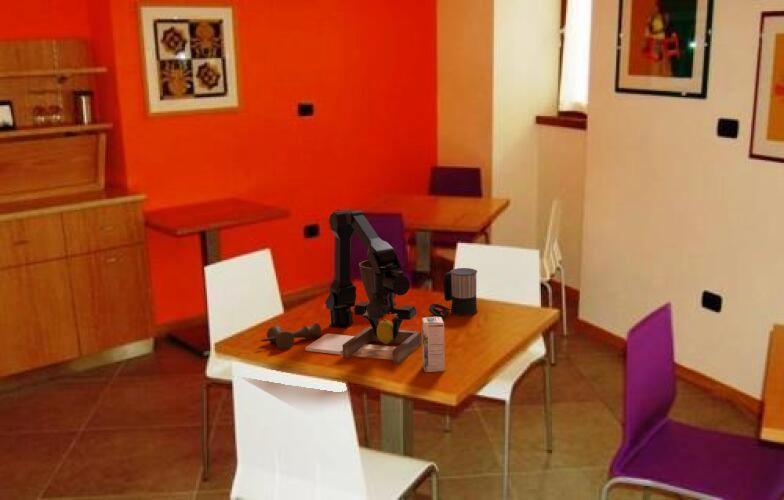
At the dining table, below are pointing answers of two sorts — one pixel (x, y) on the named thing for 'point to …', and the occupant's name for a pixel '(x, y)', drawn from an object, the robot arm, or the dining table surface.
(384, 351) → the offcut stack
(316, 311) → the dining table surface
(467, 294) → the milk frother
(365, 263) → the plant pot
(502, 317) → the dining table surface
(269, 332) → the kendama
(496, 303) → the dining table surface
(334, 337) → the tile
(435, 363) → the syrup box
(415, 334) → the walnut rack
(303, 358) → the dining table surface
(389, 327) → the lemon
